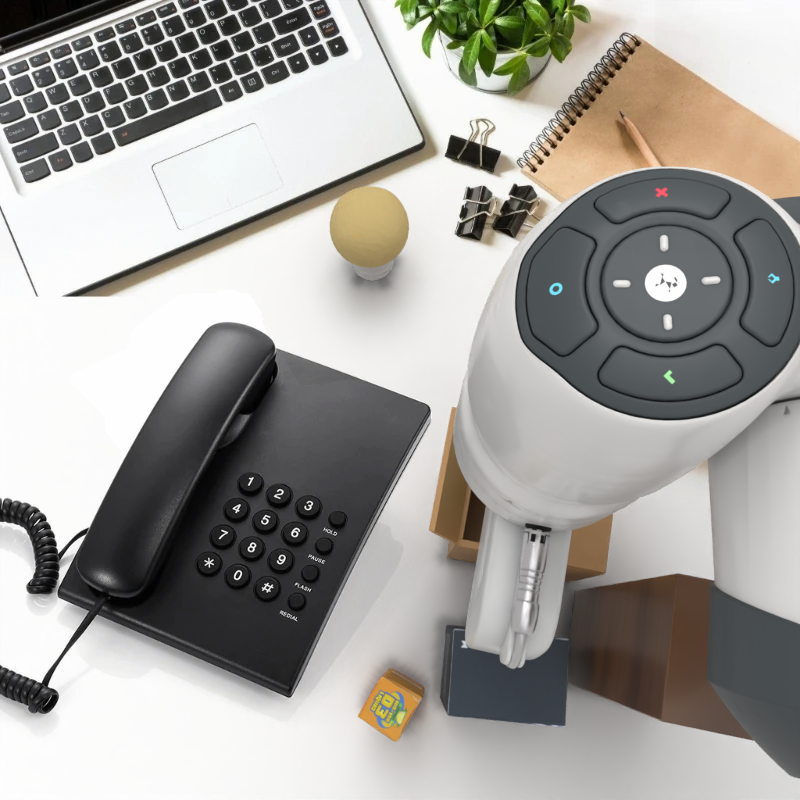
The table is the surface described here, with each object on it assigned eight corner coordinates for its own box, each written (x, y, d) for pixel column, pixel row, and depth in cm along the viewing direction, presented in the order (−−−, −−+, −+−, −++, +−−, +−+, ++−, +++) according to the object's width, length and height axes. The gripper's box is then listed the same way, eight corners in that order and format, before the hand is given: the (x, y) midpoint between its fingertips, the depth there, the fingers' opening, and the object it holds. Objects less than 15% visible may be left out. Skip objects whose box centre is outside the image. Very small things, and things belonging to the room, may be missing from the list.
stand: (663, 607, 63) (820, 601, 39) (653, 700, 62) (811, 753, 37) (575, 590, 64) (676, 572, 40) (562, 681, 62) (660, 721, 38)
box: (439, 700, 62) (445, 716, 51) (445, 624, 63) (452, 625, 53) (541, 710, 61) (567, 729, 51) (545, 634, 63) (571, 637, 53)
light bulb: (334, 234, 72) (323, 175, 62) (405, 228, 72) (404, 167, 63) (339, 300, 70) (328, 250, 61) (412, 293, 71) (413, 242, 61)
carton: (446, 557, 64) (454, 544, 53) (463, 461, 67) (475, 427, 55) (570, 582, 64) (606, 574, 52) (583, 484, 66) (622, 455, 54)
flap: (457, 543, 53) (451, 542, 53) (477, 428, 55) (472, 428, 55) (434, 531, 48) (428, 530, 49) (457, 407, 50) (451, 406, 51)
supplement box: (387, 663, 62) (383, 671, 53) (425, 687, 62) (428, 700, 52) (364, 702, 62) (356, 717, 52) (403, 727, 61) (402, 747, 52)
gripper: (595, 687, 32) (540, 667, 46) (652, 235, 38) (588, 335, 51) (441, 655, 33) (431, 645, 46) (519, 212, 38) (490, 317, 51)
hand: (514, 479), depth 49 cm, fingers closed on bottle, 3 cm apart
